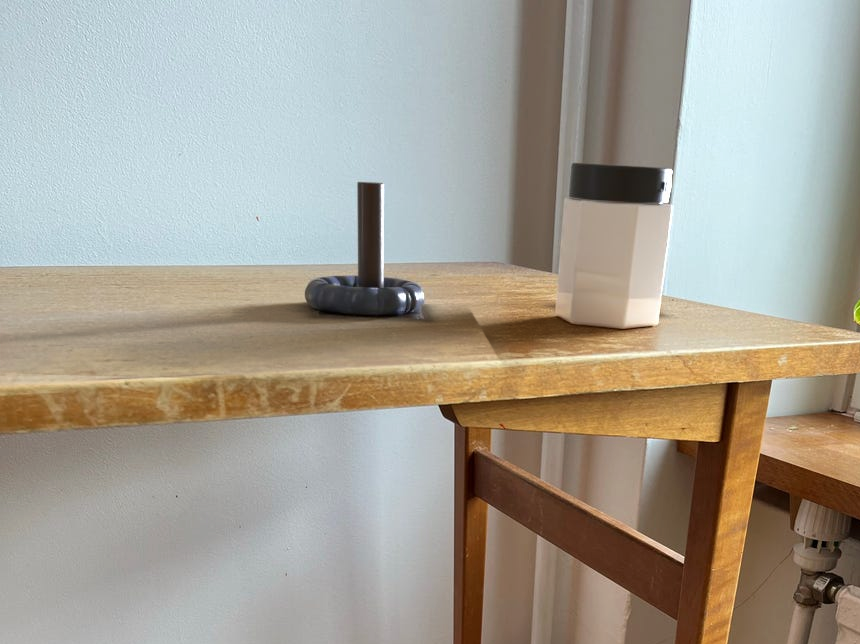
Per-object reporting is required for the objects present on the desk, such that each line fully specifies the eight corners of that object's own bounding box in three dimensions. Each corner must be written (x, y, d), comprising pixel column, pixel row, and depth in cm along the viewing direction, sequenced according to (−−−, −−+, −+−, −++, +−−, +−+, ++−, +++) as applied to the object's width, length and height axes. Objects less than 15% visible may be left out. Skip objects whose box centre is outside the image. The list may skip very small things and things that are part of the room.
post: (317, 328, 73) (313, 181, 69) (322, 312, 80) (319, 178, 76) (423, 332, 74) (427, 187, 70) (419, 315, 81) (422, 183, 77)
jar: (670, 330, 81) (691, 169, 76) (576, 328, 79) (591, 164, 74) (632, 313, 89) (649, 166, 83) (546, 311, 87) (557, 161, 82)
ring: (301, 315, 72) (300, 286, 71) (309, 298, 80) (308, 272, 80) (426, 319, 73) (426, 291, 72) (421, 302, 81) (421, 276, 81)
